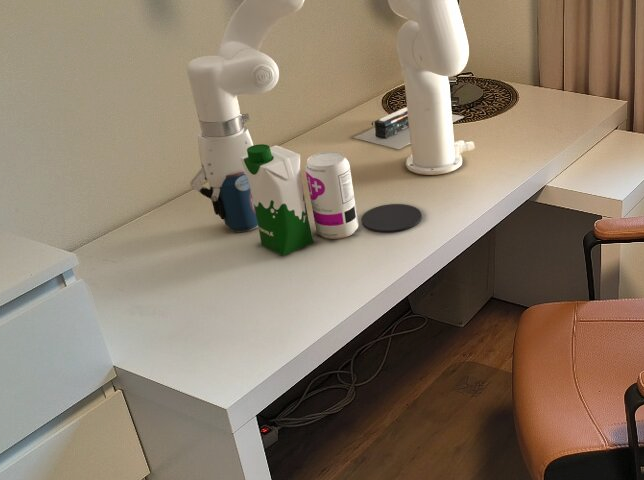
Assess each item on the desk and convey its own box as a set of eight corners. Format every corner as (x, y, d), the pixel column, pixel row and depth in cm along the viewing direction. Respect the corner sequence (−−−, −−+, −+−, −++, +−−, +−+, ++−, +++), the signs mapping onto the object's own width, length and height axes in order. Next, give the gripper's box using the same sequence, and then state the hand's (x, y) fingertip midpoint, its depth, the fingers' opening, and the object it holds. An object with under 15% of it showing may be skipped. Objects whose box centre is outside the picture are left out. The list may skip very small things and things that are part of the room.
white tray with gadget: (353, 137, 220) (350, 120, 217) (420, 106, 237) (418, 90, 234) (398, 149, 213) (396, 131, 210) (464, 116, 230) (463, 100, 227)
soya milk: (254, 245, 174) (232, 146, 163) (294, 229, 179) (275, 132, 168) (281, 259, 169) (261, 158, 158) (321, 242, 174) (303, 143, 163)
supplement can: (327, 244, 173) (315, 171, 165) (309, 229, 179) (296, 157, 171) (366, 232, 177) (355, 160, 169) (347, 217, 183) (336, 147, 175)
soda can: (266, 227, 180) (254, 171, 173) (232, 236, 177) (218, 179, 170) (256, 215, 185) (244, 159, 178) (222, 223, 182) (208, 167, 175)
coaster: (407, 201, 189) (407, 199, 188) (431, 222, 180) (431, 220, 180) (352, 215, 184) (352, 213, 183) (375, 238, 175) (374, 235, 175)
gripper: (261, 110, 176) (278, 195, 186) (169, 128, 169) (192, 215, 178) (273, 121, 170) (289, 208, 180) (178, 141, 163) (201, 230, 173)
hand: (241, 211), depth 179 cm, fingers closed on soda can, 7 cm apart
